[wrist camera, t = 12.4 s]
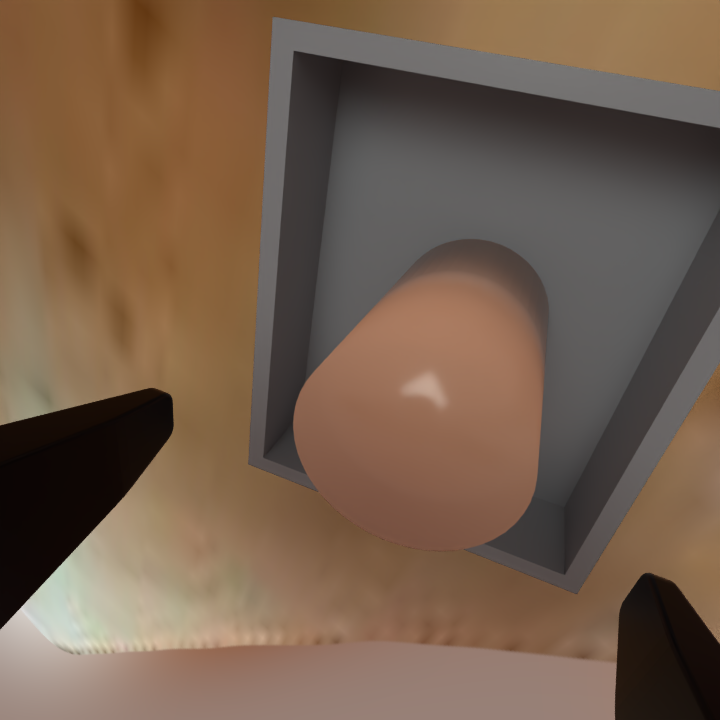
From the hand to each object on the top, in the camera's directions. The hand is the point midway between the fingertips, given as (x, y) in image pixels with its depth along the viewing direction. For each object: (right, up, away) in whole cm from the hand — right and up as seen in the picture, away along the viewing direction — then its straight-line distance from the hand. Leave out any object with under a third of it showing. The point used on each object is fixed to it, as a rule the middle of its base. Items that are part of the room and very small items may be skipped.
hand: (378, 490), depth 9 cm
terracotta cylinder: (+3, +4, +8) cm, 9 cm away
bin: (+4, +4, +8) cm, 10 cm away
